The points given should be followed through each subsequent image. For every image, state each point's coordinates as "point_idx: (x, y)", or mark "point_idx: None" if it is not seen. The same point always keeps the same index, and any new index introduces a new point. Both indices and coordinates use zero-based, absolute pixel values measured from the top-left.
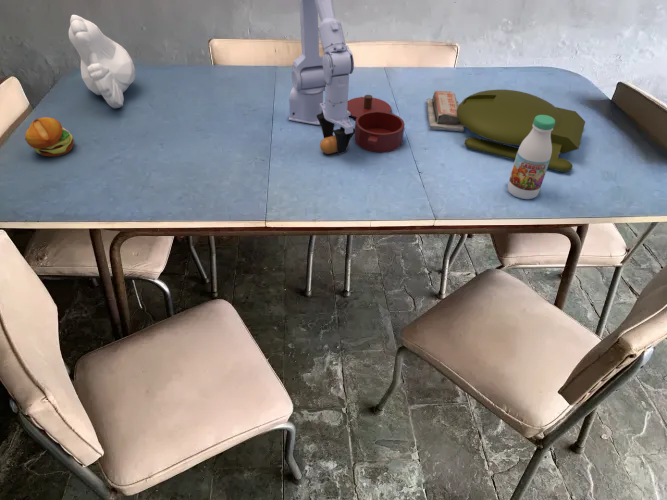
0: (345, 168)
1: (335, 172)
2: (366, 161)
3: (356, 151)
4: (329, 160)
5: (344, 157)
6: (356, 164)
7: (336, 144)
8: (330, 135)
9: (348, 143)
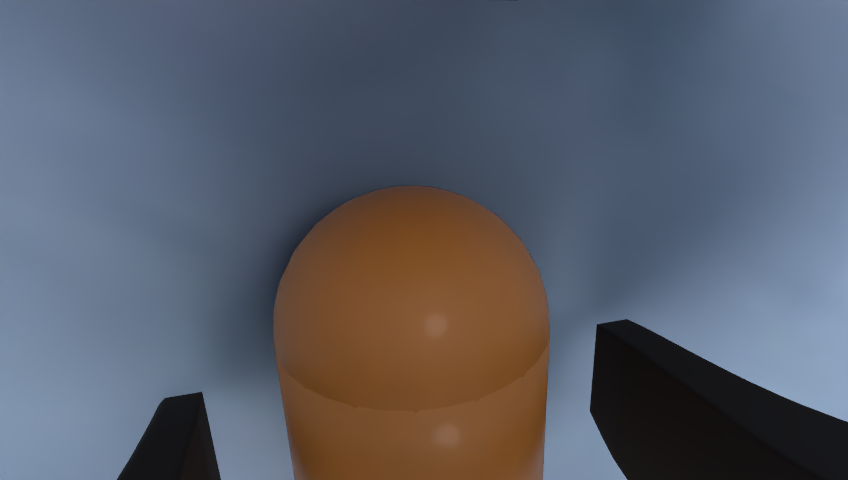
0: (764, 342)
1: None
2: (800, 53)
3: (527, 68)
4: (550, 447)
5: (578, 281)
6: (776, 204)
7: (540, 462)
8: (201, 458)
9: (525, 247)
